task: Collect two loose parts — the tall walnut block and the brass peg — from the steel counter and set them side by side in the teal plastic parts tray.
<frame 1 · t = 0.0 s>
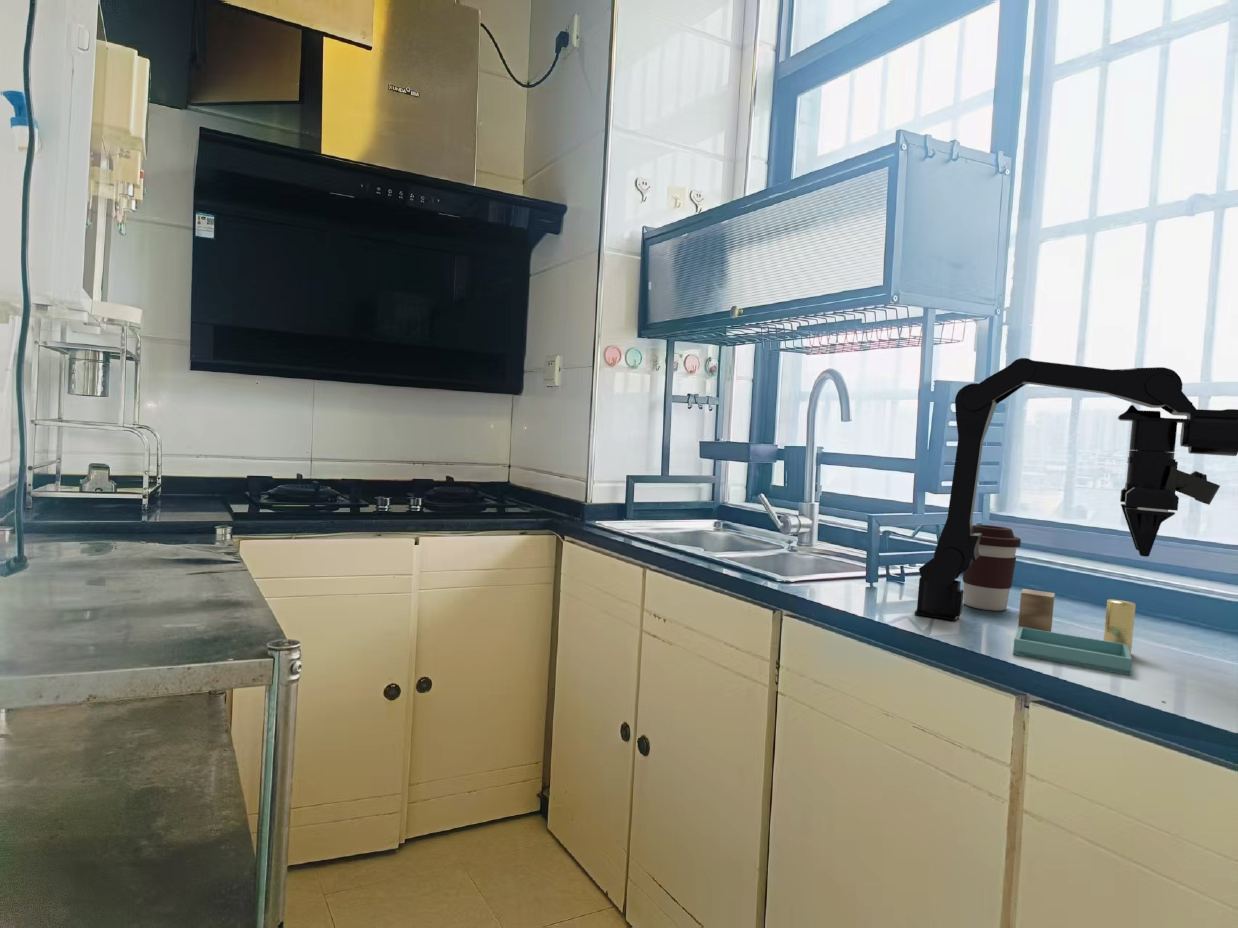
hand: (1142, 553, 119), 15 cm above the table, fingers open, 9 cm apart
parts tray: (1070, 656, 111), on the table
brass peg: (1116, 651, 117), on the table
walnut block: (1034, 636, 123), on the table
coffee cup: (984, 607, 145), on the table
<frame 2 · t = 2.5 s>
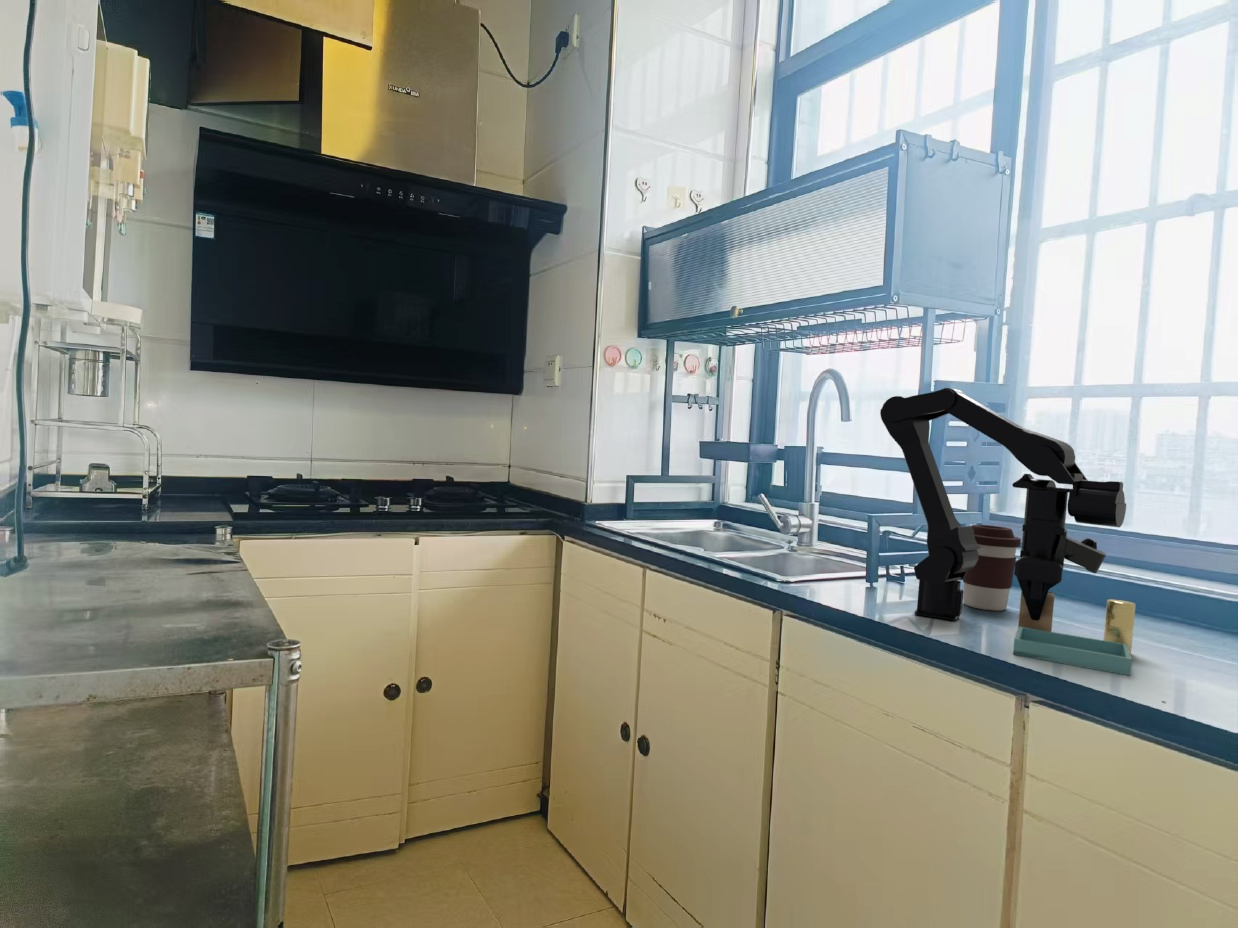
hand: (1035, 617, 123), 3 cm above the table, fingers closed on walnut block, 4 cm apart
walnut block: (1034, 636, 123), on the table, touching gripper
everything else where it was.
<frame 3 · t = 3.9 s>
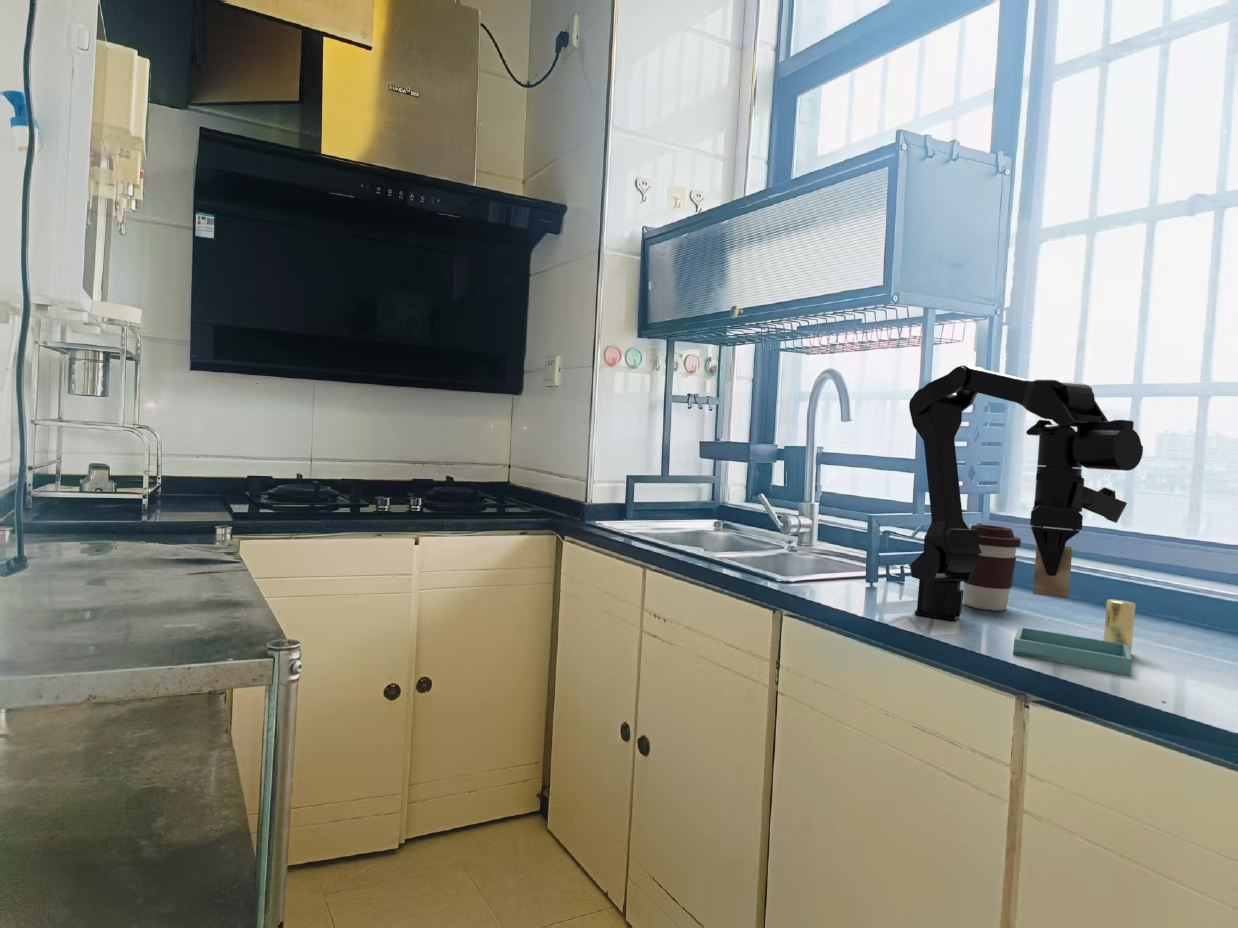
hand: (1051, 573, 114), 11 cm above the table, fingers closed on walnut block, 4 cm apart
walnut block: (1050, 594, 114), point 8 cm above the table, touching gripper
everything else where it was.
when the fingers open (5 cm above the table, at t = 5.4 s): walnut block drops 1 cm, resting on parts tray.
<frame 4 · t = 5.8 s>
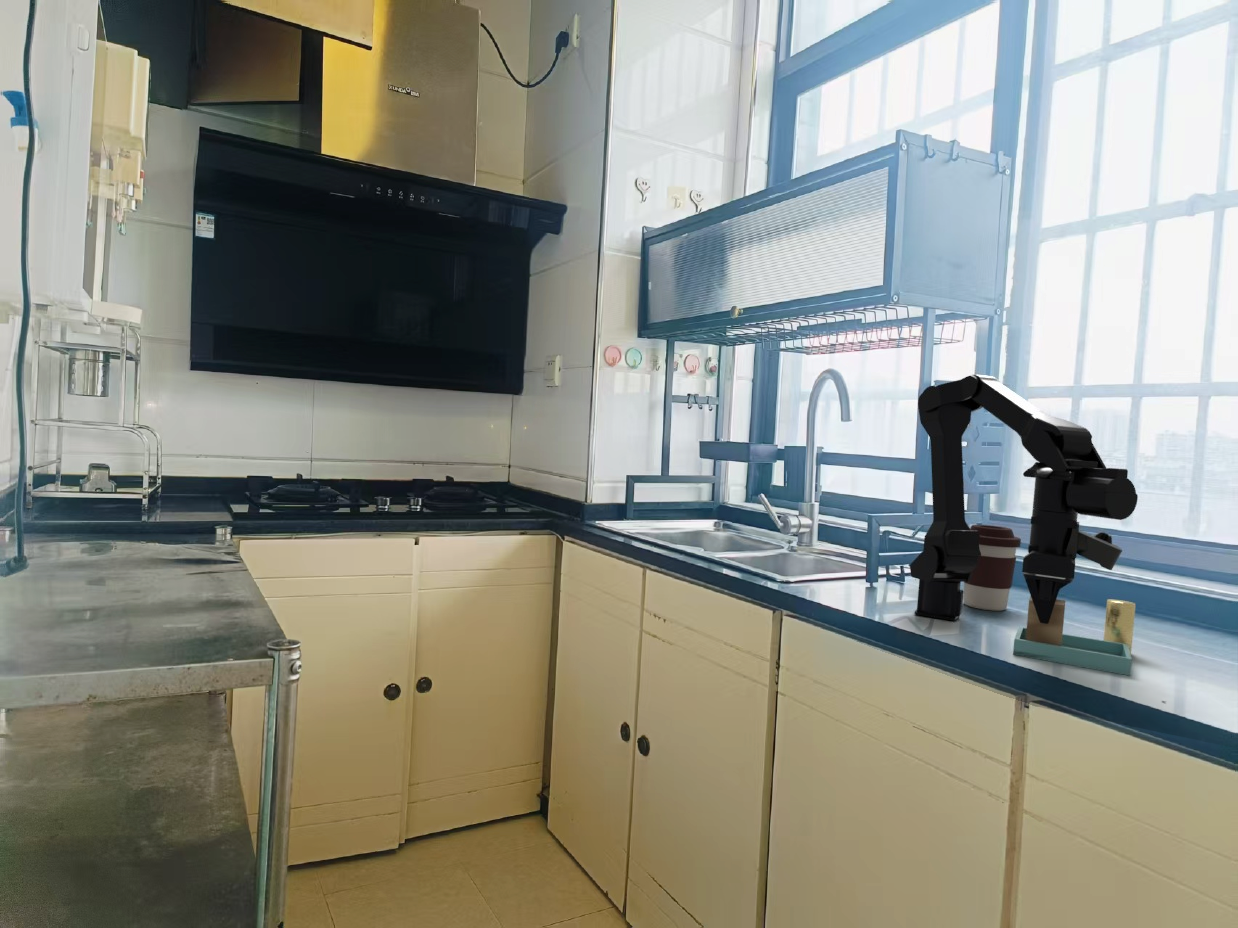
hand: (1045, 617, 113), 5 cm above the table, fingers open, 8 cm apart
walnut block: (1043, 647, 113), point 1 cm above the table, touching parts tray
everything else where it was.
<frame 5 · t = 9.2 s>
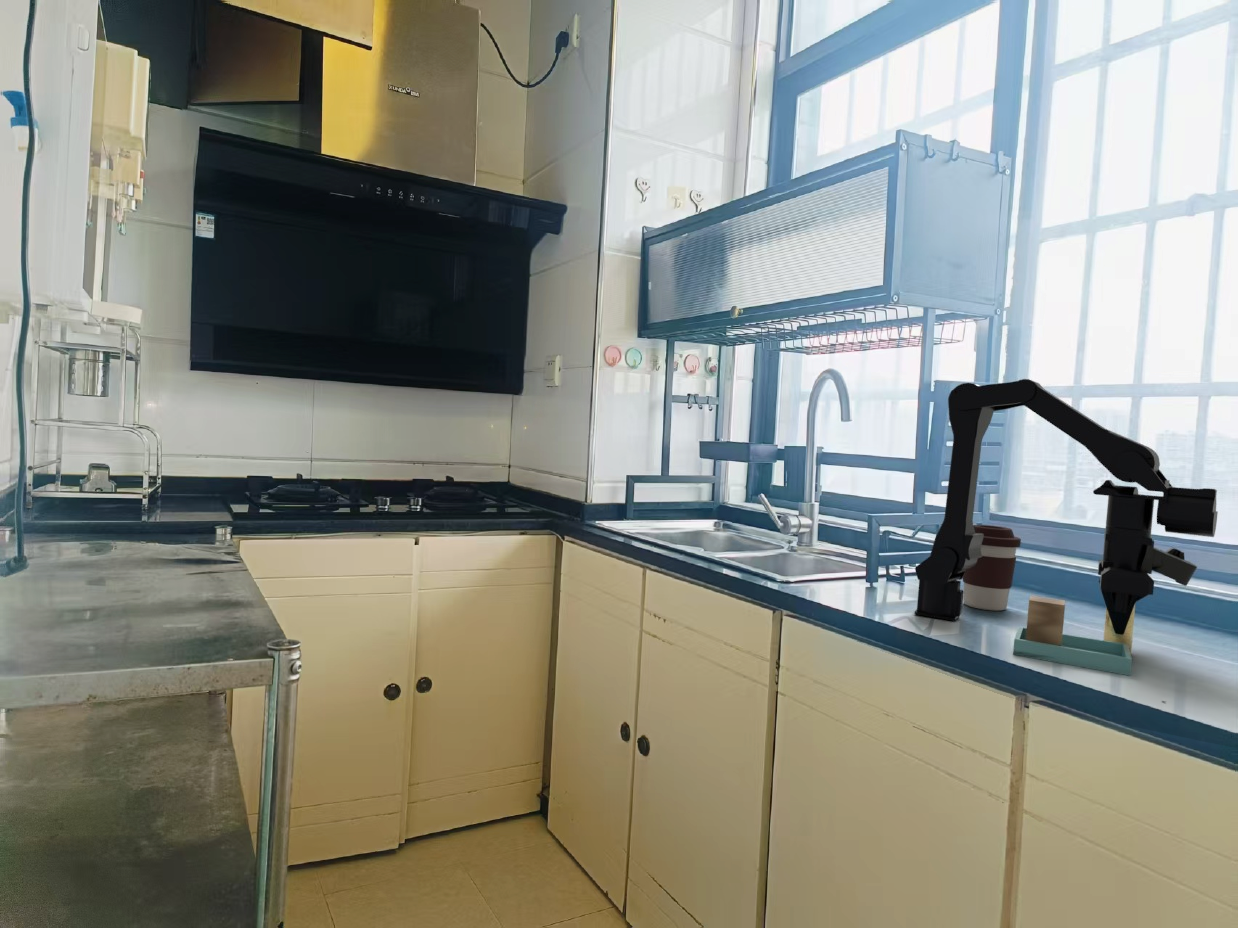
hand: (1118, 631, 116), 3 cm above the table, fingers closed on brass peg, 4 cm apart
brass peg: (1116, 651, 117), on the table, touching gripper
everything else where it was.
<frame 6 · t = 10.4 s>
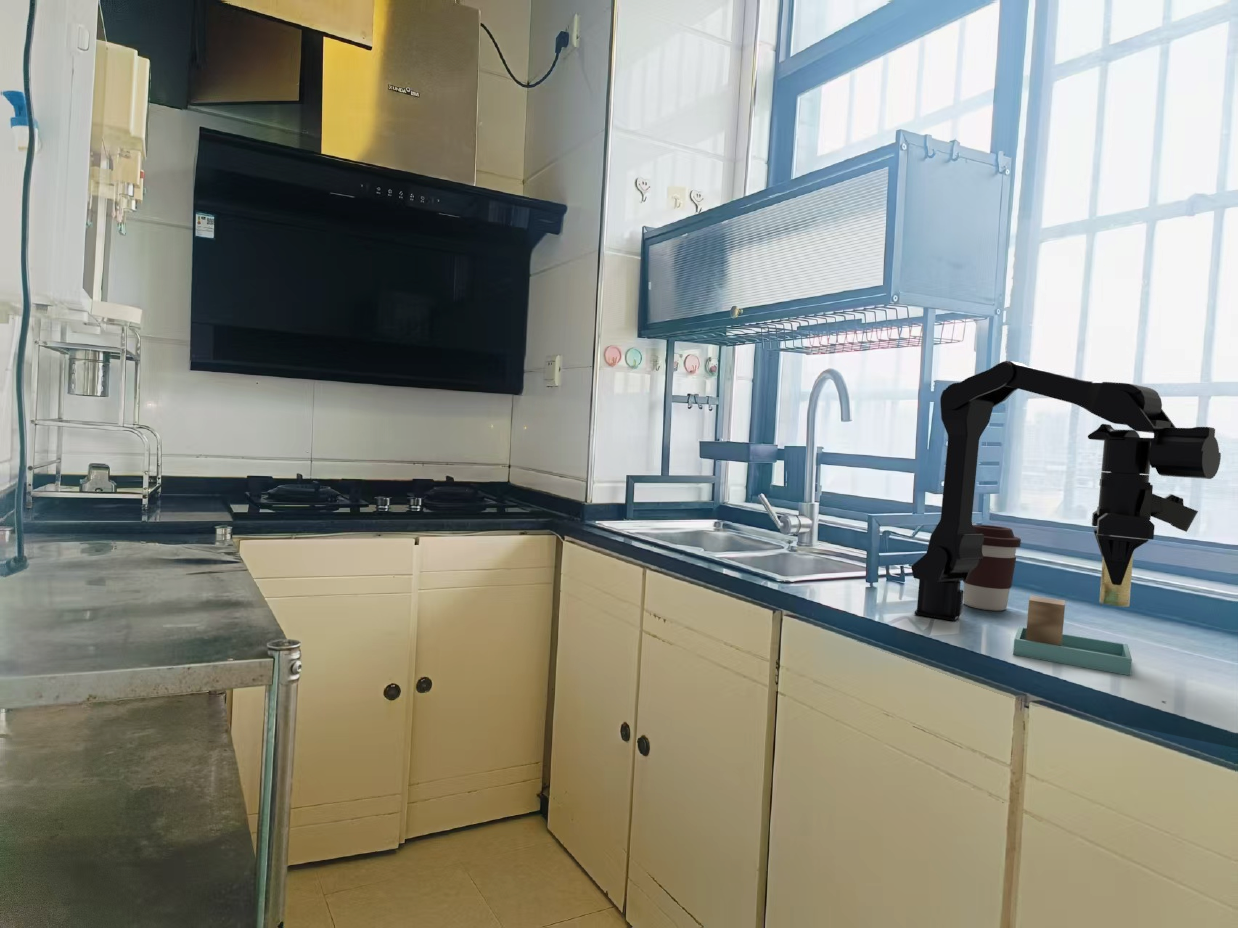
hand: (1115, 582, 111), 11 cm above the table, fingers closed on brass peg, 4 cm apart
brass peg: (1114, 604, 111), point 8 cm above the table, touching gripper
everything else where it was.
when the fingers open (5 cm above the table, at t = 11.9 s): brass peg drops 1 cm, resting on parts tray.
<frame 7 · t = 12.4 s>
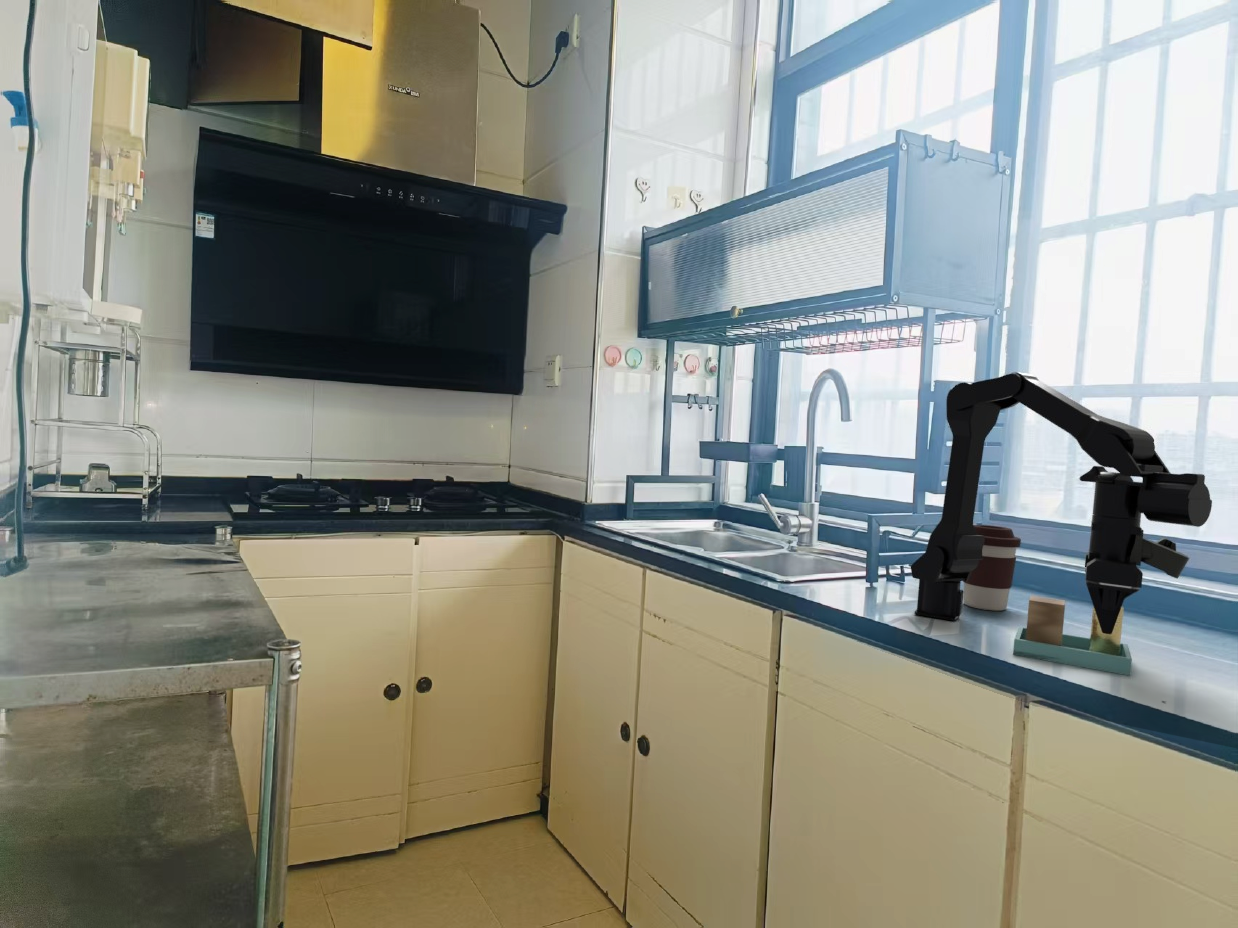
hand: (1105, 627, 109), 5 cm above the table, fingers open, 9 cm apart
brass peg: (1103, 658, 109), point 1 cm above the table, touching parts tray
everything else where it was.
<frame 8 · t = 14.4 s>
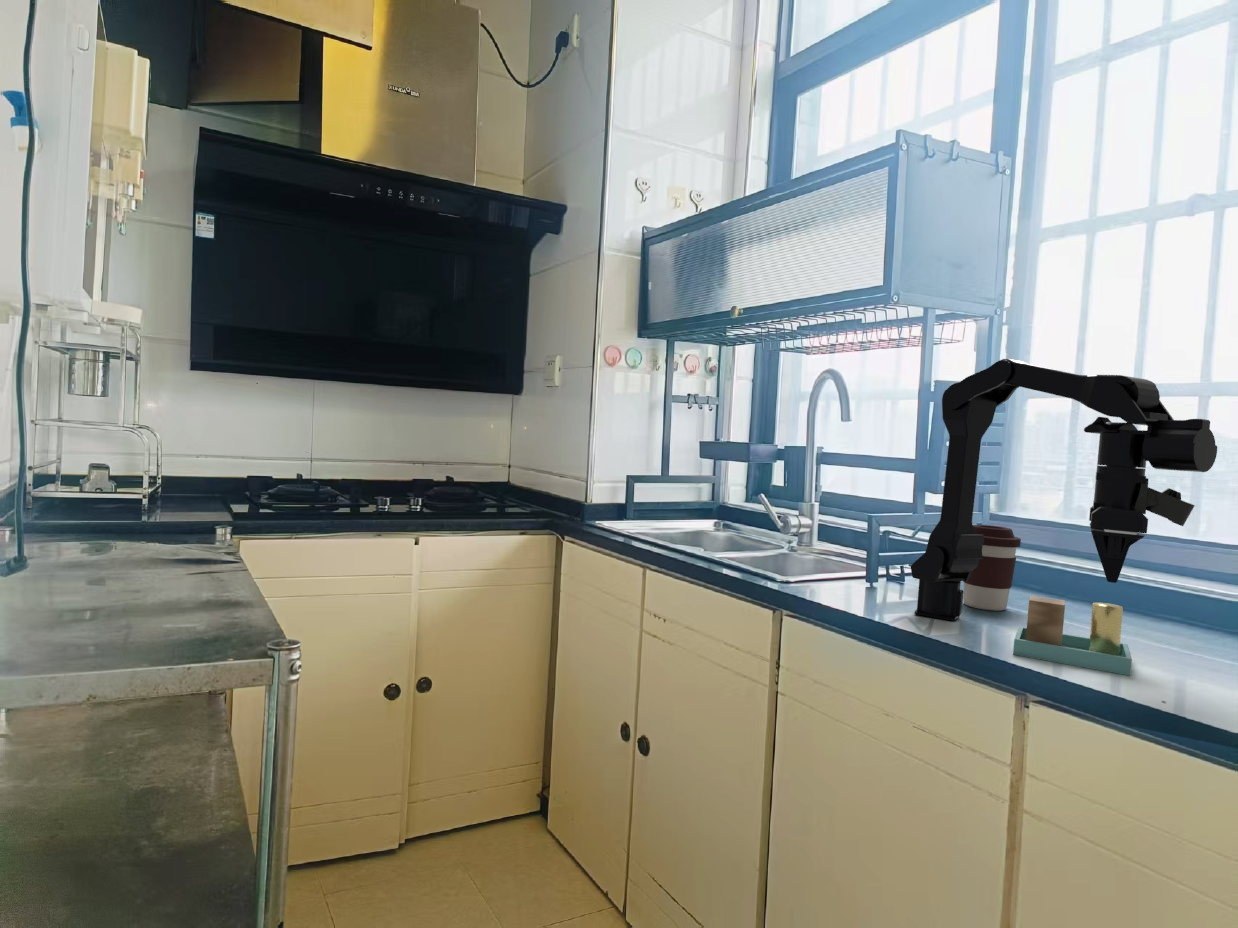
hand: (1110, 578, 109), 12 cm above the table, fingers open, 9 cm apart
nothing on the table moved.
at the end: walnut block inside the target area on the parts tray (3.4 cm from its centre), point 0.6 cm above the parts tray's base; brass peg inside the target area on the parts tray (4.0 cm from its centre), point 0.6 cm above the parts tray's base; brass peg tilted 1° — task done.
